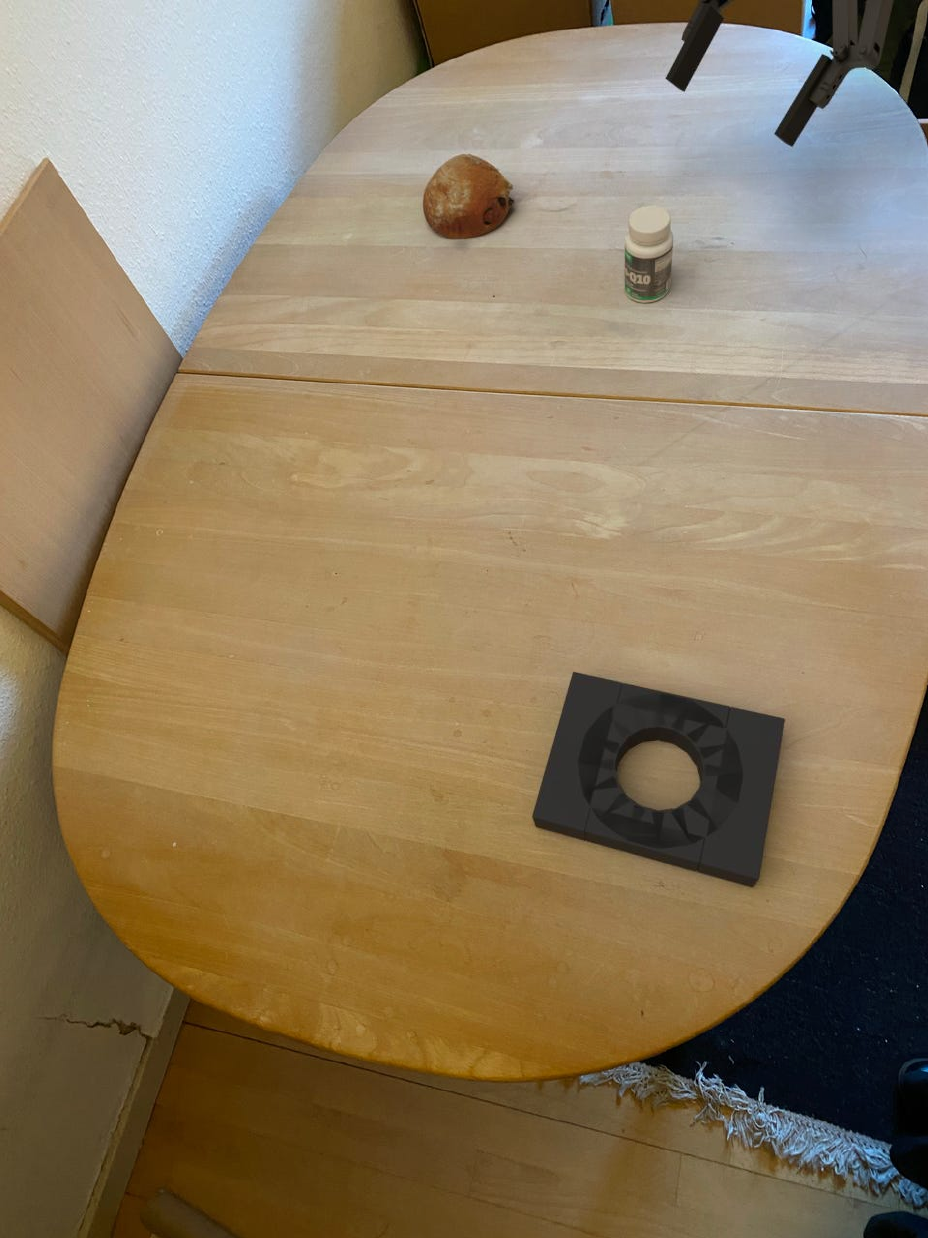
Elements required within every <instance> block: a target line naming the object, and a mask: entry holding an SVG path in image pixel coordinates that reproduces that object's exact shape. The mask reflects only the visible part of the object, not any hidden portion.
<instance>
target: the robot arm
mask: <svg viewBox="0 0 928 1238" xmlns="http://www.w3.org/2000/svg"><path fill="white" fill-rule="evenodd" d="M734 1H735V0H698V2H697V5H696V7H695V9H694V11H693V12H692V15H691V16H690V18H689V21H688V22H687V24H686V26H685V28H684V30H683V31H682V36H681V41H682V42H683V44H682V46H681V47H680V49H679V52H678V54H677V56H676V57H675V59H674V61H673V63H672V65H671V67H670V68H669V71H668V72H667V75H666V76H665V80H666V81H667V82H669V83H670V84H672V85H673V86H674V87H675V88H677V89H678V90H680V91H681V92H683V93H685V92H686V90H687V88H688V86H689V84H690V83H691V81H692V79H693V77H694V76H695V73H696V71H697V70H698V68H699V66H700V64H701V62H702V60H703V58H704V57H705V55H706V53H707V51H708V49H709V47H710V45H711V43H712V42H713V40H714V39H715V37H716V34H717V32H718V30H719V29H720V27H721V25H722V23H723V22H724V19H725V18H724V16H723V13H722V10H723V9H724V8H725V7H728V5H730V4H731V3H733V2H734ZM893 5H894V0H866V2H865V7H864V12H863V16H862V22H861V27H860V30H859V35H858V0H832V50H829V53H830V54H831V56H832V58H831V56H829V55H826V54H823V53H822V54H821V55H820V56H819V58H818V60H817V61H816V63H815V65H814V67H813V68H812V69H811V72H810V73H809V75H808V76H807V78H806V80H804V81H805V82H804V83H803V85H802V86H801V88H800V89H799V91H798V93H797V95H796V96H795V98H794V100H793V102H792V103H791V105H790V107H789V108H788V110H787V111H786V113H785V115H784V116H783V118H782V120H781V121H780V123H779V125H778V127H777V128H776V129H775V131H774V133H773V135H774V136H775V137H777V138H778V139H779V140H780V141H781V142H783V143H784V144H785V145H787V146H789V147H790V148H793V147H794V146H795V144H796V142H797V140H798V139H799V138H800V135H801V134H802V132H803V131H804V129H805V128H806V126H807V124H808V123H809V121H810V120H811V118H812V116H813V115H814V113H815V111H816V110H817V108H819V109H821V110H824V109H825V108H826V107H827V106H828V105H829V104H830V102H831V100H832V99H833V97H834V96H835V95H836V92H837V91H838V90H839V88H840V87H841V84H842V83H843V82H844V80H845V78H846V77H847V75H848V74H849V73H850V72H851V71H852V70H855V69H864V68H865V69H866V70H869V71H872V70H874V69H876V68H877V67H878V66H879V64H880V63H881V59H882V54H883V51H884V45H885V40H886V35H887V33H888V27H889V23H890V18H891V13H892V9H893Z"/></svg>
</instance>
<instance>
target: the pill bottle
mask: <svg viewBox="0 0 928 1238" xmlns="http://www.w3.org/2000/svg"><path fill="white" fill-rule="evenodd" d="M671 221H672V217H671V213H670V212H669V211H668V210H667V209H666V208H664V207H662V206H660V205H659V206H658V205H645V206H641V207H639V208H637V209H635V210H634V211H633V212H632V213H631V214H630V216H629V218H628V232H627V233H626V235H625V237H624V292H625V294H626V295H627V297H628V298H630V300H632V301H635V302H637V303H645V304H647V303H653V302H656V301H659V300H661V299H662V298H664V297H665V296H666V295H667V294H668V292H669V291H670V287H671V279H672V278H671V277H672V267H673V266H672V264H673V252H674V251H673V249H674V233H673V231H672V229H671Z"/></svg>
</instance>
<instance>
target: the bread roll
mask: <svg viewBox="0 0 928 1238" xmlns="http://www.w3.org/2000/svg"><path fill="white" fill-rule="evenodd" d="M513 189H514V185H513V184H512V183H511V182H510V181H509V180H507V178H506V177H505V176H503V175H502V173H501V172H500V170H499V168H497V167H495V166H494V165H493V164H491V163H490V162H488V161H487V160H485V159H483V158H481V157H479V156H477V155H473V154H472V153H461V154H458V155H455V156H453V157H451V158H450V159H448V160H446V161H445V162H444V163H443V164H441V165H440V166H439V167H438V168H437V169H436V171H435V173H434V174H433V176H432V177H431V178H430V179H429V181H428V182H427V184H426V186H425V188H424V193H423V198H422V210H423V215H424V218H425V221H426V223H427V224H428V226H429V227H430V228H431V229H432V230H433V231H434V232H435V233H437V234H438V235H441V236H442V237H444V238H448V239H451V240H452V239H453V240H454V239H455V240H456V239H457V240H459V239H470V238H477V237H481V236H483V235H486V234H487V233H490V232H492V231H494V230H495V229H497V228H498V227H499V226H500V225H501V224H502V223H503V222H504V221H505V219H506V216H507V214H508V212H509V211H510V208H511V206H513V205H514V204H515V199H512V198H511V196H510V191H512V190H513Z"/></svg>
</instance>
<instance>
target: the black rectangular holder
mask: <svg viewBox="0 0 928 1238" xmlns="http://www.w3.org/2000/svg"><path fill="white" fill-rule="evenodd" d="M785 721H786V719H785V718H784V717H780V716H774V715H771V714H765V713H761V712H756V711H752V710H748V709H743V708H739V707H735V706H730V705H727V704H721V703H717V702H711V701H707V700H703V699H699V698H694V697H689V696H684V695H680V694H675V693H671V692H666V691H663V690H657V689H653V688H649V687H645V686H644V687H643V686H640V685H636V684H635V685H634V684H631V683H627V682H626V683H625V682H622V681H618V680H613V679H608V678H604V677H599V676H595V675H591V674H586V673H581V672H577V671H572V674H571V678H570V680H569V685H568V688H567V691H566V695H565V699H564V702H563V706H562V709H561V713H560V716H559V720H558V723H557V727H556V730H555V734H554V737H553V742H552V745H551V748H550V751H549V755H548V758H547V762H546V765H545V766H546V767H545V769H544V772H543V776H542V779H541V784H540V787H539V790H538V794H537V797H536V800H535V805H534V808H533V811H532V815H531V818H532V820H533V824H534V826H535V827H536V828H538V829H541V830H545V831H548V832H552V833H556V834H560V835H563V836H566V837H571V838H574V839H577V840H581V841H585V842H588V843H592V844H595V845H598V846H599V845H600V846H603V847H605V848H610V849H613V850H616V851H621V852H623V853H627V854H631V855H634V856H638V857H642V858H645V859H649V860H652V861H656V862H660V863H662V864H663V863H664V864H667V865H670V866H675V867H678V868H681V869H684V870H689V871H692V872H697V873H699V874H703V875H706V876H710V877H714V878H717V879H720V880H724V881H728V882H732V883H735V884H738V885H743V886H746V887H750V888H754V886H755V885H756V883H757V882H758V881H759V880H760V874H761V868H762V862H763V857H764V850H765V845H766V838H767V833H768V826H769V819H770V815H771V813H770V812H771V809H772V808H771V807H772V801H773V796H774V789H775V784H776V783H775V782H776V778H777V771H778V764H779V759H780V753H781V746H782V740H783V734H784V729H785V723H786V722H785ZM653 741H660V742H665V743H669V744H673V745H675V746H676V747H678V748H679V749H680V750H682V751H684V752H685V753H686V754H687V755H688V756H689V757H690V760H691V761H692V762H693V763H694V765H695V766H696V769H697V774H698V778H699V787H698V788H697V790H696V792H695V793H693V795H692V797H691V798H690V799H689V800H687V801H686V802H684V803H682V804H680V805H679V806H678V807H675V808H674V807H673V808H665V809H655V808H651V807H648V806H644V805H641V804H639V803H638V802H636V800H634V799H633V798H631V797H630V796H628V794H627V793H626V792H625V790H624V788H623V787H622V785H621V783H620V781H618V779H619V778H618V774H617V772H618V767H619V765H620V762H621V760H622V759H623V758H624V756H625V755H626V754H627V752H628V751H629V750H631V749H632V748H635V746H637V745H639V744H641V743H646V742H653Z"/></svg>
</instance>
